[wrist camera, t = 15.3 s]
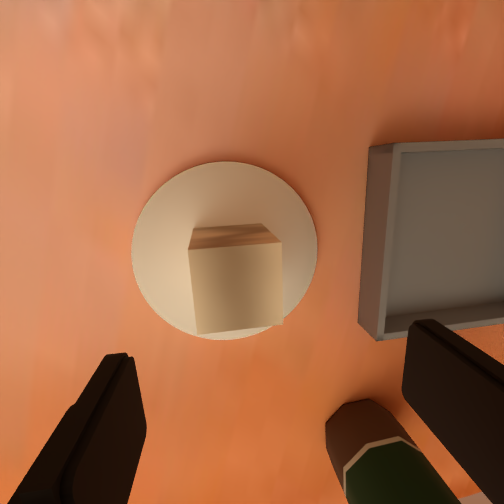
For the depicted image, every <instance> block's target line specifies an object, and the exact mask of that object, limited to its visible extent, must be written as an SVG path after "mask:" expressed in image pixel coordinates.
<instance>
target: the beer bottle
mask: <svg viewBox="0 0 504 504" xmlns="http://www.w3.org/2000/svg"><path fill="white" fill-rule="evenodd" d="M326 449H327V452H328V454H329V457H330V460H331V462H332V465H333V468H334V470H335V472H336V475H337V477H338V479H339V482H340V484H341V486H342V489H343V491H344V494H345V496H346V498H347V501H348V503H349V504H461V503H460V501H459V500H458V499H457V497H456V496H455V495H454V494H453V492H452V491H451V490H450V488H449V487H448V486H447V484H446V483H445V482H444V480H443V479H442V478H441V477H440V475H439V474H438V473H437V471H436V470H435V469H434V467H433V466H432V465H431V463H430V462H429V461H428V460H427V458H426V457H425V456H424V454H423V453H422V452H421V450H420V449H419V448H418V447H417V445H416V444H415V443H414V441H413V440H412V439H411V437H410V436H409V435H408V433H407V432H406V431H405V430H404V428H403V427H402V426H401V425H400V423H399V422H398V421H397V420H396V419H395V417H394V416H393V415H392V414H391V413H390V412H389V411H387V410H386V409H384V408H383V407H381V406H380V405H378V404H377V403H375V402H374V401H372V400H370V399H366V400H362V401H357V402H352V403H348V404H343V405H342V407H341V408H340V409H339V410H338V411H337V412H336V413H335V414H334V415H333V416H332V417H331V418H330V419H329V420H328V422H327V423H326Z"/></svg>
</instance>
